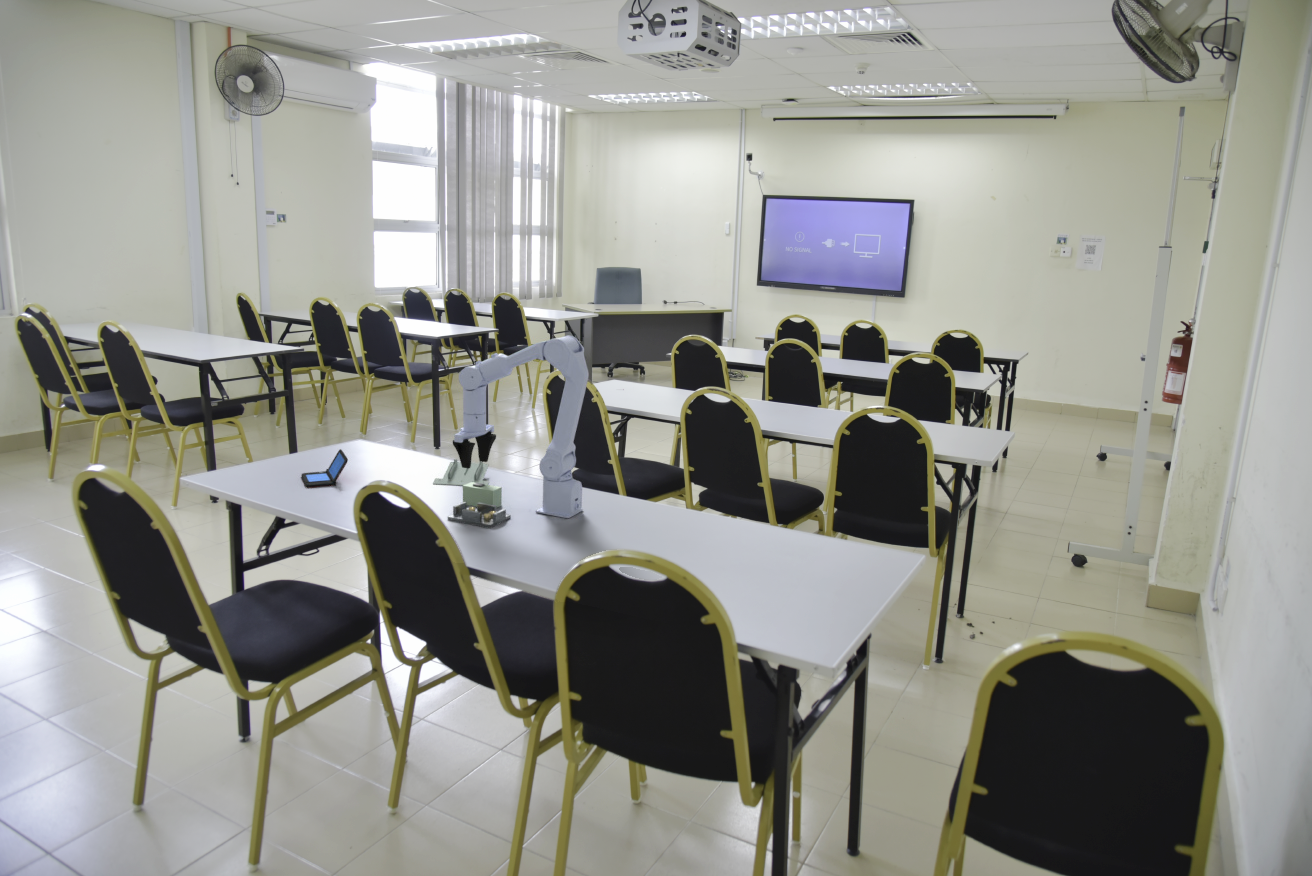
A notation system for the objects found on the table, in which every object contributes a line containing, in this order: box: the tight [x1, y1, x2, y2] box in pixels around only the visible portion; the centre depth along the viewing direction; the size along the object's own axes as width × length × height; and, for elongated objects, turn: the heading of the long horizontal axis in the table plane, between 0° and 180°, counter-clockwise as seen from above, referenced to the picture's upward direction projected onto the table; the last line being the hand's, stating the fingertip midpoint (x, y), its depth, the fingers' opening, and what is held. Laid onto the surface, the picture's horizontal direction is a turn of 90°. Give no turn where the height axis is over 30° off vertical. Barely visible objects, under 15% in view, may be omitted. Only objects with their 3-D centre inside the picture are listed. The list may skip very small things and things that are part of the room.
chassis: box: [447, 501, 512, 529], centre depth 207 cm, size 12×9×3 cm
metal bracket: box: [432, 458, 490, 487], centre depth 240 cm, size 14×6×15 cm
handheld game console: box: [301, 449, 349, 489], centre depth 232 cm, size 12×11×7 cm
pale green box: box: [462, 482, 503, 509], centre depth 218 cm, size 9×4×5 cm, turn 67°
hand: (474, 464), depth 220 cm, fingers open, 7 cm apart
